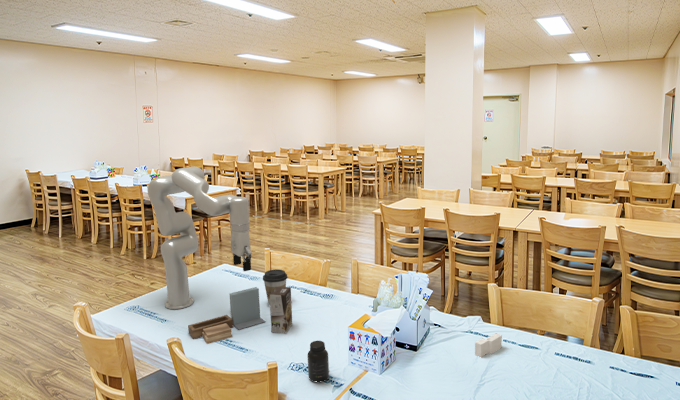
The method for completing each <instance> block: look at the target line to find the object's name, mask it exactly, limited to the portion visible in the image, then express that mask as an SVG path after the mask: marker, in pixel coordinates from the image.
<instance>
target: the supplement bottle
mask: <svg viewBox="0 0 680 400" xmlns="http://www.w3.org/2000/svg"><path fill="white" fill-rule="evenodd" d="M329 365H330V363H329V352H328V350H326V344H325V342H324V341H322V340H313V341H311V342H310V344H309V350H308V352H307V375H308V379H309V378H310V379H311V380H313V381H317V382H319V383H321V382H320V381H324V380H326V379H327V378H328V379H329V377H330V367H329ZM310 379H309V380H310ZM328 379H327V380H328ZM311 380H310V381H311ZM327 380H326V381H327ZM313 381H312V382H313ZM317 382H316V383H317ZM324 382H325V381H324Z"/></svg>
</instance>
